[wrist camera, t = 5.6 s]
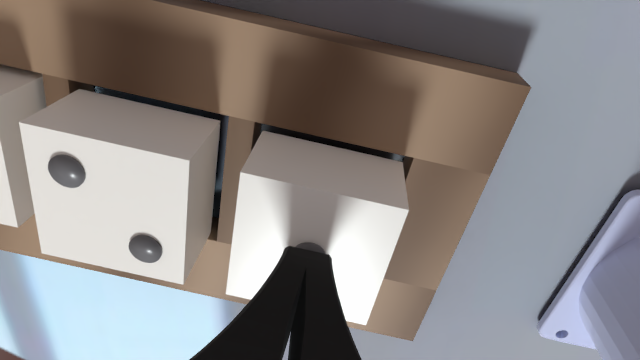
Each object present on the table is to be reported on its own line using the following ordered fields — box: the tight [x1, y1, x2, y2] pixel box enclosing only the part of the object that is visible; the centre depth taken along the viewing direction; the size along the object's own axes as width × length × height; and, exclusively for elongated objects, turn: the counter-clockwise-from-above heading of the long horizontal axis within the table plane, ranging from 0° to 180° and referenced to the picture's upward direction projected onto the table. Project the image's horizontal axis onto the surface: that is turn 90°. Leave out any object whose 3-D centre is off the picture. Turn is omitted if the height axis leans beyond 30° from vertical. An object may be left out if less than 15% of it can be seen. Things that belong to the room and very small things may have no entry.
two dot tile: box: [19, 89, 220, 285], centre depth 15 cm, size 5×5×3 cm
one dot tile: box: [226, 131, 409, 325], centre depth 15 cm, size 5×5×3 cm
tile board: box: [0, 0, 531, 341], centre depth 17 cm, size 24×12×2 cm, turn 79°
